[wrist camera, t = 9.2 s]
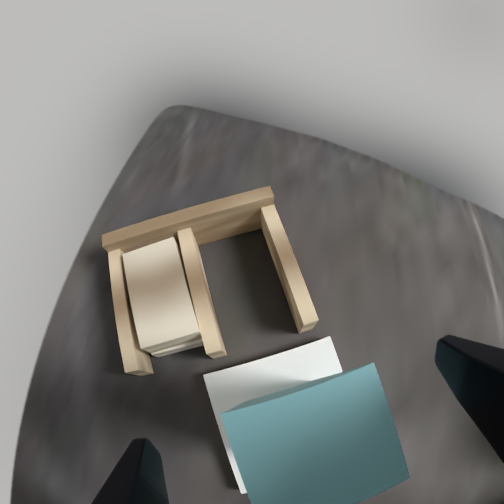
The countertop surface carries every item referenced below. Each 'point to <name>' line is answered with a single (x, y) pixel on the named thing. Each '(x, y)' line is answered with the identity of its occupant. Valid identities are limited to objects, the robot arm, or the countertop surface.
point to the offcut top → (160, 296)
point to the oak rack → (188, 239)
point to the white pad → (267, 381)
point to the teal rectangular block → (318, 441)
